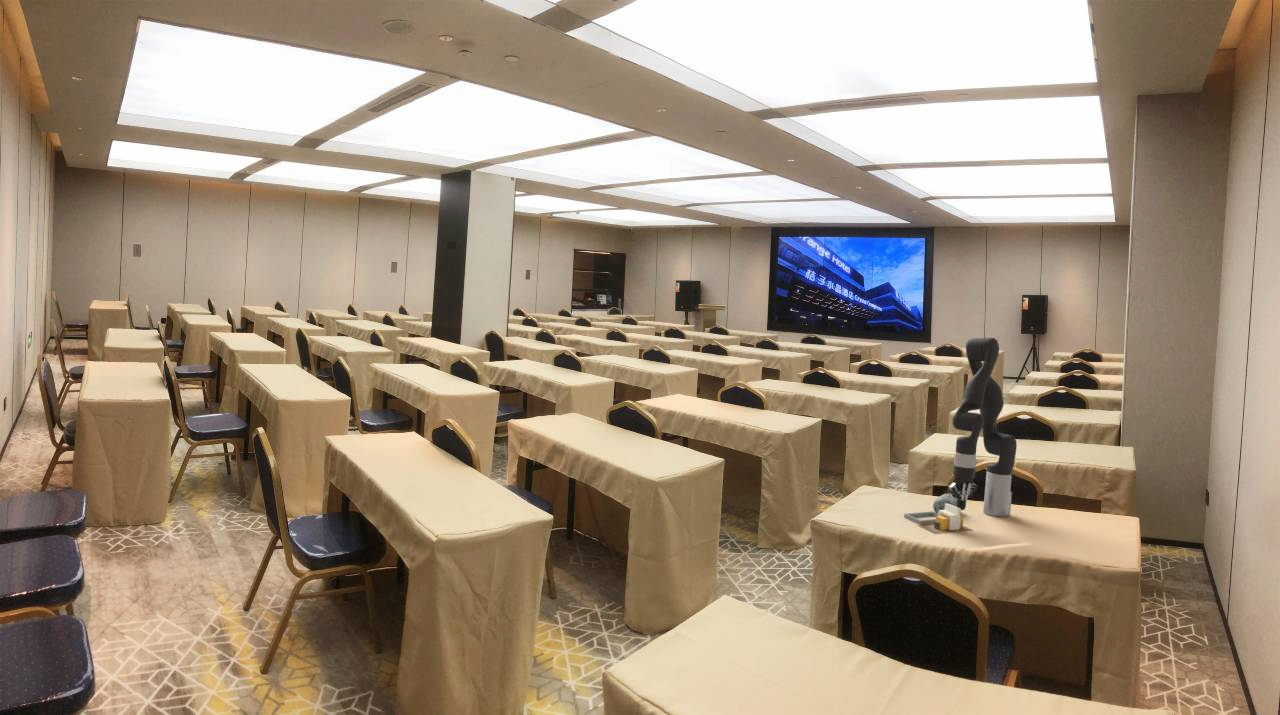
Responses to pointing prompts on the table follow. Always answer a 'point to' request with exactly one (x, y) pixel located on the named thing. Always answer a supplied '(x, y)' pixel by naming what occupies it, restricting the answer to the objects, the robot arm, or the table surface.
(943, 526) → the yellow rectangular block
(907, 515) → the tray
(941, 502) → the streaked grey-blue ovoid
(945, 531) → the clamp board
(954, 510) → the white stepped block
